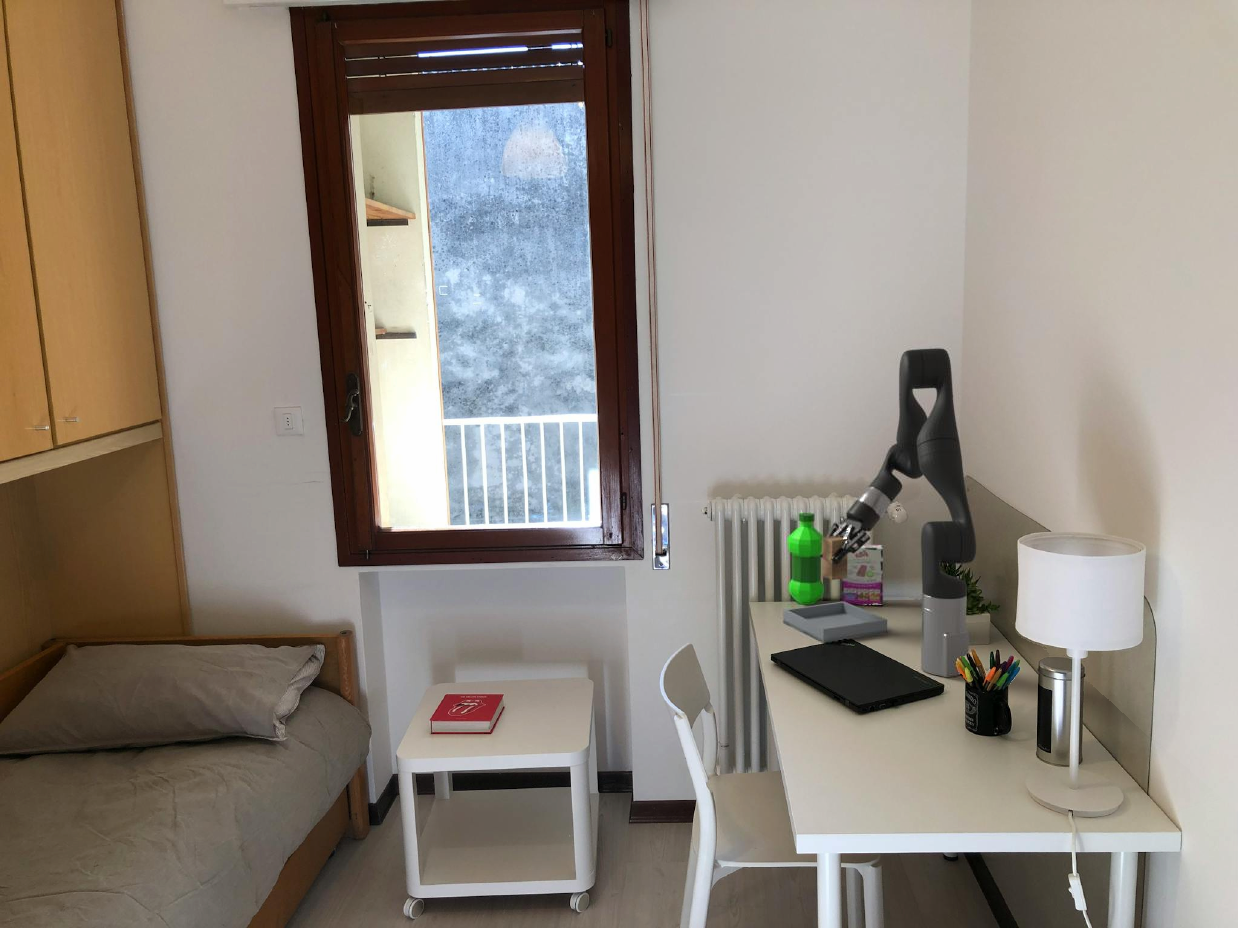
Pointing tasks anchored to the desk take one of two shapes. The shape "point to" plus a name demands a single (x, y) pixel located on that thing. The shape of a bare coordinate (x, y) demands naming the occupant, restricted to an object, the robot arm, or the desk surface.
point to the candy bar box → (864, 576)
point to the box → (834, 621)
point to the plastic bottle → (806, 561)
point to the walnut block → (828, 550)
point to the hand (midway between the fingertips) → (828, 559)
